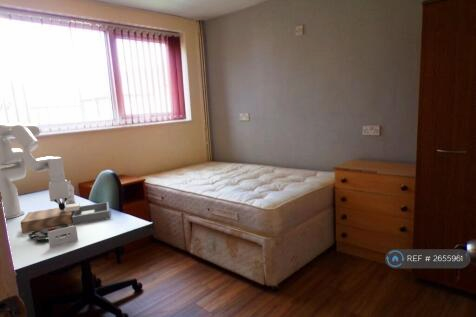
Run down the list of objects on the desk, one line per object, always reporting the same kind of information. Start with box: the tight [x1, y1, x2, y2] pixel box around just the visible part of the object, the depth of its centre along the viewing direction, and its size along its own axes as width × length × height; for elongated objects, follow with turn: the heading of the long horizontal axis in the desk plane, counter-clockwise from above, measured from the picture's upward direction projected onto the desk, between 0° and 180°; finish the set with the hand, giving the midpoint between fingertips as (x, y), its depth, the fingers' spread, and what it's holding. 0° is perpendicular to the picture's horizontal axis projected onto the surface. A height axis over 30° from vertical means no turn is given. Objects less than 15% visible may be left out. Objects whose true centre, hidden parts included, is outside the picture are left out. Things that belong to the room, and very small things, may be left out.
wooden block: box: [20, 207, 74, 234], centre depth 186 cm, size 24×20×6 cm
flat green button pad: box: [28, 224, 70, 243], centre depth 166 cm, size 18×18×5 cm
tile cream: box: [65, 202, 81, 212], centre depth 190 cm, size 7×7×2 cm
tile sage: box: [81, 210, 95, 215], centre depth 193 cm, size 7×7×2 cm
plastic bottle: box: [65, 179, 76, 207], centre depth 207 cm, size 6×7×20 cm
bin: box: [72, 201, 111, 226], centre depth 194 cm, size 19×22×4 cm
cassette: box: [47, 224, 79, 249], centre depth 153 cm, size 12×2×8 cm, turn 125°
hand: (62, 209), depth 187 cm, fingers closed
